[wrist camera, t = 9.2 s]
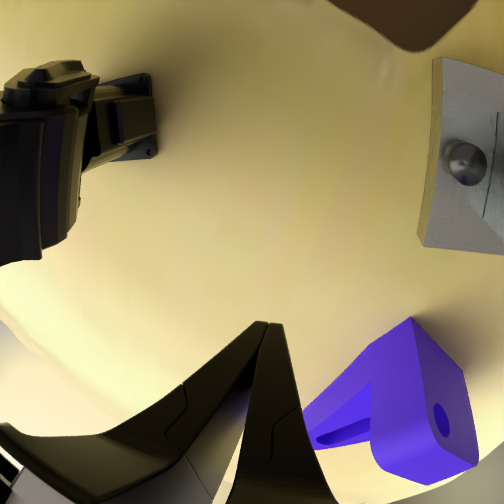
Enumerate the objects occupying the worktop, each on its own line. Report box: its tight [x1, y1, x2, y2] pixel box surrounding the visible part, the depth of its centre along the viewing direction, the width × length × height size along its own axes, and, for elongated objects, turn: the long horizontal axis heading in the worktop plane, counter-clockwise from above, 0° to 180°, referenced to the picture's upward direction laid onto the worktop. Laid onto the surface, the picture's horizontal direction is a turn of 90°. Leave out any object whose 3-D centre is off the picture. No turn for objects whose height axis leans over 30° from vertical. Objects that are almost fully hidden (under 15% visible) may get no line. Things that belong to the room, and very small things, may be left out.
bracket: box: [303, 317, 479, 485], centre depth 23 cm, size 18×11×12 cm, turn 143°
